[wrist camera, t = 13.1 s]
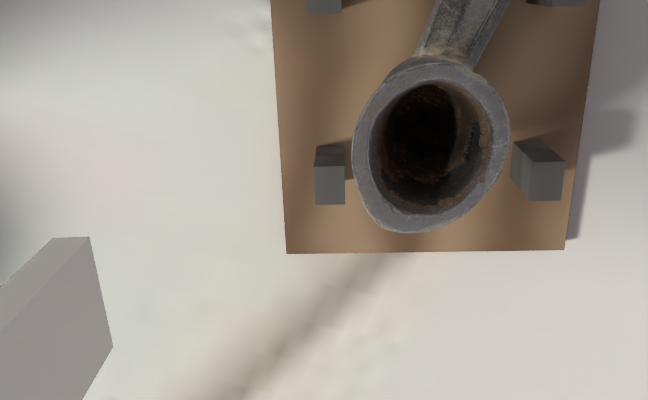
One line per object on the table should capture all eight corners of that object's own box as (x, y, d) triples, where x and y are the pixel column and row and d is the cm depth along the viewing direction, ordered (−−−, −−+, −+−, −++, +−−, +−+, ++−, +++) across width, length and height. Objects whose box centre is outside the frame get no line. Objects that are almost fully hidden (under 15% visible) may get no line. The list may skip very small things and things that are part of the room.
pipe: (544, -43, 26) (623, -50, 19) (428, 191, 31) (456, 259, 24) (427, -95, 26) (461, -123, 18) (326, 152, 30) (321, 209, 23)
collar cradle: (288, 246, 34) (280, 284, 29) (264, -136, 26) (249, -158, 22) (557, 242, 33) (588, 280, 29) (611, -151, 26) (664, -176, 21)
